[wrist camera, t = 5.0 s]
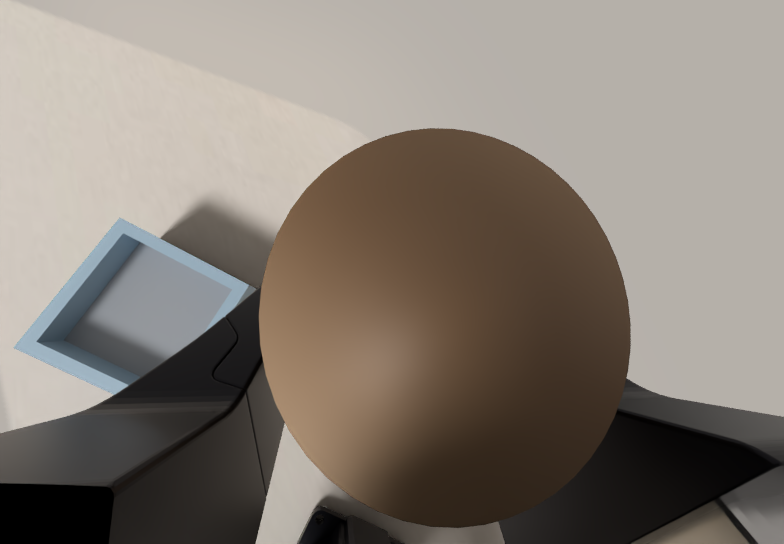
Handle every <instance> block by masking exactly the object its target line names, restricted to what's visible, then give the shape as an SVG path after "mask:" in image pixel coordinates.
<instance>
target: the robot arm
mask: <svg viewBox="0 0 784 544" xmlns="http://www.w3.org/2000/svg"><path fill="white" fill-rule="evenodd" d="M261 286H262V285H261ZM261 286H260V287H259V288H258V289H257V290H255V291H254V292H253V293H252V294H251V295H249V296H248V297H247V298H246V299H244V300H243V301H242V302H241V303H240V304H238V305H237V306H236V307H235V308H234V309H232V310H231V311H230V312H229V313H228V314H226V316H225V317H223V318H221V319H220V320H219V321H218V322H217V323H215V324H214V325H213V326H212V327H210V328H209V329H208V330H207V331H205V332H204V333H203V334H202V335H200V336H199V337H198V338H196V339H195V340H194V341H192V342H191V343H189V344H188V345H187V346H185V347H184V348H182V349H181V350H180V351H178V352H177V353H175V354H174V355H172V356H171V357H170V358H168V359H167V360H165V361H164V362H162V363H161V364H159V365H158V366H156V367H155V368H153V369H152V370H150V371H149V372H147V373H146V374H145V375H143V376H142V377H140V378H139V379H137V380H136V381H134V382H133V383H131V384H130V385H128V386H127V387H125V388H124V389H122V390H121V391H120V392H118V393H116V394H115V395H113V396H112V397H110V398H108V399H107V400H105V401H103V402H101V403H99V404H97V405H96V406H93V407H91V408H89V409H87V410H84V411H81V412H79V413H76V414H73V415H70V416H67V417H63V418H59V419H55V420H51V421H47V422H43V423H40V424H36V425H32V426H28V427H24V428H20V429H16V430H12V431H8V432H4V433H0V544H255V543H256V539H257V535H258V530H259V526H260V522H261V518H262V514H263V510H264V506H265V502H266V496H267V493H268V489H269V485H270V481H271V477H272V473H273V468H274V464H275V460H276V456H277V452H278V448H279V444H280V440H281V436H282V431H283V427H284V423H285V421H284V419H283V417H282V415H281V414H280V412H279V410H278V408H277V406H276V403H275V401H274V398H273V395H272V392H271V389H270V386H269V383H268V380H267V377H266V373H265V368H264V362H263V357H262V352H261V346H260V329H259V308H260V297H261ZM318 515H322V516H323V517H324V518H323V519H322V520H320V521H319V520H317V519H316V517H317V516H318ZM499 525H500V528H501V532H502V535H503V538H504V542H505V544H784V417H781V416H774V415H769V414H762V413H757V412H751V411H745V410H739V409H734V408H728V407H722V406H716V405H710V404H704V403H698V402H692V401H687V400H680V399H675V398H670V397H666V396H663V395H659V394H657V393H654V392H651V391H649V390H646V389H645V388H642V387H640V386H639V385H637V384H635V383H633V382H632V381H630V380H628V379H627V378H626V381H625V386H624V390H623V394H622V397H621V400H620V403H619V406H618V409H617V411H616V414H615V417H614V419H613V421H612V423H611V425H610V427H609V429H608V431H607V433H606V435H605V437H604V439H603V440H602V442H601V443H600V445H599V446H598V448H597V449H596V451H595V452H594V454H593V455H592V457H591V458H590V460H589V461H588V462H587V463H586V464H585V465H584V466H583V467H582V469H581V470H580V471H579V472H578V473H577V474H576V475H575V477H574V478H572V479H571V480H570V481H569V482H568V483H567V484H566V485H564V486H563V487H562V488H561V489H560V490H559V491H557V492H556V493H555V494H554V495H552V496H550V497H549V498H547V499H546V500H544V501H543V502H541V503H539V504H538V505H536V506H535V507H533V508H531V509H529V510H526V511H524V512H522V513H520V514H517V515H515V516H513V517H511V518H507V519H504V520H500V521H499ZM297 544H404V543H402V542H400V541H397V540H395V539H393V538H391V537H389V535H388V532H387V531H385V530H383V529H381V528H379V527H376V526H374V525H372V524H370V523H368V522H366V521H363V520H361V519H359V518H357V517H355V516H349V517H345V516H343V515H341V514H339V513H336V512H334V511H332V510H330V509H328V508H326V507H323V506H319V507H317V508H315V509H314V510H313V512H312V514H311V516H310V518H309V520H308V522H307V524H306V526H305V528H304V530H303V532H302V534H301V536H300V538H299V540H298V542H297Z"/></svg>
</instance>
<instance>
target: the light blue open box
mask: <svg viewBox="0 0 784 544" xmlns="http://www.w3.org/2000/svg"><path fill="white" fill-rule="evenodd" d="M255 290H257V289H256V288H254V287H252V286H250V285H248V284H246V283H244V282H242V281H241V280H239V279H237V278H235V277H233V276H231V275H229V274H227V273H225V272H223V271H221V270H219V269H217V268H216V267H214V266H212V265H210V264H208V263H206V262H204V261H202V260H200V259H198V258H196V257H194V256H193V255H191V254H189V253H187V252H185V251H183V250H181V249H179V248H177V247H175V246H173V245H171V244H170V243H168V242H166V241H164V240H162V239H160V238H158V237H156V236H154V235H152V234H150V233H148V232H146V231H145V230H143V229H141V228H139V227H137V226H135V225H133V224H131V223H129V222H127V221H125V220H123V219H121V218H119V219H118V220H117V222H116V223H115V224H114V225H113V226H112V228H111V229H110V230H109V231H108V233H107V234H106V235H105V236H104V237H103V239H102V240H101V241H100V242H99V244H98V245H97V246H96V247H95V249H94V250H93V251H92V252H91V253H90V255H89V256H88V257H87V258H86V260H85V261H84V262H83V263H82V264H81V266H80V267H79V268H78V269H77V271H76V272H75V273H74V274H73V275H72V277H71V278H70V279H69V280H68V282H67V283H66V284H65V285H64V286H63V288H62V289H61V290H60V291H59V293H58V294H57V295H56V296H55V297H54V299H53V300H52V301H51V302H50V304H49V305H48V306H47V307H46V308H45V310H44V311H43V312H42V313H41V315H40V316H39V317H38V318H37V320H36V321H35V322H34V323H33V324H32V326H31V327H30V328H29V329H28V331H27V332H26V333H25V334H24V335H23V337H22V338H21V339H20V340H19V342H18V343H17V344H16V345H15V346H14V348H15V349H17V350H19V351H21V352H23V353H26V354H28V355H30V356H32V357H34V358H36V359H39V360H41V361H43V362H45V363H47V364H49V365H51V366H54V367H56V368H58V369H60V370H62V371H64V372H67V373H69V374H71V375H73V376H75V377H77V378H79V379H82V380H84V381H86V382H88V383H90V384H92V385H94V386H97V387H99V388H101V389H103V390H105V391H107V392H110V393H112V394H114V395H115V394H116V393H118V392H120V391H121V390H122V389H124V388H125V387H127V386H128V385H130V384H131V383H133V382H134V381H136V380H137V379H139V378H140V377H142V376H143V375H145V374H146V373H147V372H149V371H150V370H152V369H153V368H155V367H156V366H158V365H159V364H161V363H162V362H164V361H165V360H167V359H168V358H170V357H171V356H172V355H174V354H175V353H177V352H178V351H180V350H181V349H182V348H184V347H185V346H187V345H188V344H189V343H191V342H192V341H194V340H195V339H196V338H198V337H199V336H200V335H202V334H203V333H204V332H205V331H207V330H208V329H209V328H210V327H212V326H213V325H214V324H215V323H217V322H218V321H219V320H220V319H221V318H223V317H225V316H226V314H228V313H229V312H230V311H231V310H232V309H234V308H235V307H236V306H237V305H238V304H240V303H241V302H242V301H243V300H244V299H246V298H247V297H248V296H249V295H251V294H252V293H253V292H254V291H255Z"/></svg>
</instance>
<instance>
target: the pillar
mask: <svg viewBox="0 0 784 544" xmlns="http://www.w3.org/2000/svg"><path fill="white" fill-rule="evenodd" d="M259 329H260V346H261V352H262V357H263V362H264V368H265V373H266V377H267V380H268V383H269V386H270V389H271V392H272V395H273V398H274V401H275V403H276V406H277V408H278V410H279V412H280V414H281V415H282V417H283V419H284V421H285V423H286V425H287V427H288V429H289V431H290V433H291V434H292V436H293V437H294V438H295V440H296V441H297V443H298V444H299V446H300V447H301V448H302V450H303V451H304V453H305V454H306V456H307V457H308V458H309V459H310V460H311V461H312V462H313V463H314V464H315V465H316V466H317V467H318V468H319V470H320V471H321V472H322V473H323V474H324V475H325V476H326V477H327V478H328V479H329V480H331V481H332V482H333V483H334V484H336V485H337V486H338V487H340V488H341V489H342V490H343V491H345V492H346V493H347V494H349V495H350V496H351V497H353V498H355V499H356V500H358V501H360V502H362V503H363V504H365V505H367V506H369V507H371V508H372V509H374V510H376V511H378V512H381V513H384V514H386V515H389V516H392V517H394V518H397V519H400V520H402V521H406V522H411V523H416V524H421V525H426V526H431V527H452V528H461V527H469V526H478V525H486V524H489V523H493V522H497V521H500V520H504V519H507V518H511V517H513V516H515V515H517V514H520V513H522V512H524V511H526V510H529V509H531V508H533V507H535V506H536V505H538V504H539V503H541V502H543V501H544V500H546V499H547V498H549V497H550V496H552V495H554V494H555V493H556V492H557V491H559V490H560V489H561V488H562V487H563V486H564V485H566V484H567V483H568V482H569V481H570V480H571V479H572V478H574V477H575V475H576V474H577V473H578V472H579V471H580V470H581V469H582V467H583V466H584V465H585V464H586V463H587V462H588V461H589V460H590V458H591V457H592V455H593V454H594V452H595V451H596V449H597V448H598V446H599V445H600V443H601V442H602V440H603V439H604V437H605V435H606V433H607V431H608V429H609V427H610V425H611V423H612V421H613V419H614V417H615V414H616V411H617V409H618V406H619V403H620V400H621V397H622V394H623V390H624V386H625V381H626V377H627V372H628V365H629V356H630V317H629V307H628V299H627V295H626V290H625V286H624V281H623V277H622V274H621V271H620V268H619V265H618V262H617V259H616V256H615V254H614V252H613V250H612V248H611V245H610V243H609V241H608V239H607V236H606V235H605V233H604V231H603V230H602V228H601V226H600V225H599V223H598V221H597V219H596V218H595V216H594V215H593V213H592V212H591V211H590V209H589V208H588V207H587V205H586V204H585V203H584V201H583V200H582V199H581V198H580V197H579V195H578V194H577V193H576V192H575V191H574V190H573V189H572V188H571V187H570V186H569V184H567V182H565V181H564V180H563V179H562V178H561V177H560V176H559V175H557V174H556V173H555V172H554V171H553V170H552V169H551V168H549V167H548V166H546V165H545V164H543V163H542V162H541V161H539V160H538V159H536V158H535V157H534V156H532V155H530V154H528V153H526V152H525V151H523V150H521V149H519V148H517V147H515V146H513V145H510V144H508V143H506V142H503V141H501V140H498V139H496V138H493V137H490V136H486V135H482V134H478V133H475V132H470V131H463V130H456V129H431V128H430V129H420V130H411V131H405V132H402V133H397V134H393V135H389V136H385V137H383V138H380V139H377V140H375V141H372V142H370V143H367V144H365V145H363V146H361V147H359V148H357V149H356V150H354V151H352V152H350V153H348V154H347V155H345V156H343V157H342V158H341V159H339V160H338V161H337V162H335V163H334V164H333V165H331V166H330V167H329V168H327V169H326V170H325V171H324V172H323V173H322V174H321V175H320V176H319V177H318V178H317V179H316V180H315V181H314V182H313V183H312V184H311V185H310V186H309V187H308V188H307V189H306V190H305V191H304V193H303V194H302V195H301V197H300V198H299V199H298V201H297V202H296V203H295V205H294V206H293V207H292V209H291V210H290V212H289V214H288V215H287V217H286V219H285V221H284V223H283V224H282V226H281V228H280V230H279V232H278V234H277V236H276V239H275V242H274V244H273V247H272V249H271V252H270V255H269V257H268V261H267V265H266V269H265V273H264V278H263V282H262V286H261V297H260V308H259Z"/></svg>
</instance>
